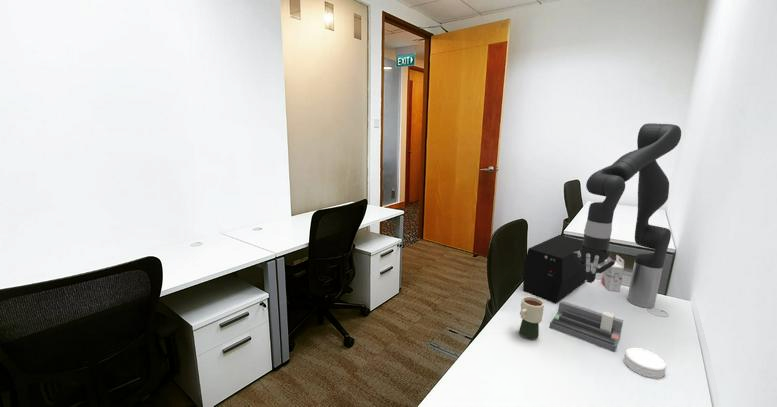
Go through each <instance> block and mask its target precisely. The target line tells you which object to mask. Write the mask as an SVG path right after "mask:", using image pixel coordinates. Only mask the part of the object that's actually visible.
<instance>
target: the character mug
mask: <svg viewBox="0 0 777 407" xmlns="http://www.w3.org/2000/svg"><path fill="white" fill-rule="evenodd" d="M544 309H545V302H544V301H543V300H542V299H541V298H539V297H537V296H531V295H530V296H528V295H526V296H522V298H521V302H520V311H519V316H520V319H521V322H520V326H519V329H518V333H519V334H520V335H521V336H522V337H524V338H527V339H531V340H536V339H538V338H539V334H540V333H539V332H540V328H539V324H540V323H541V322H543V316H544Z"/></svg>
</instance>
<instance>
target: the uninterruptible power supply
mask: <svg viewBox="0 0 777 407" xmlns="http://www.w3.org/2000/svg"><path fill="white" fill-rule="evenodd" d="M582 244H583V239H578V238H574V237H570V236H565V235H564V234H558V235H556V236H554V237H551V238H549V239H547V240H545V241H543V242H540V243H538V244H535V245H533V246H531V247H529V248H528V249H527V252H526V257H525V260H524V261H525V262H524V265H523V269H522V270H523V271H522V274H523V276H522V278H523V280H522V288H523V290H522V291H523V292H524V293H527V294H528V295H529V294H530V295H532V296H533V297H536V298H538V299H541V300H542V299H543V300H545V301H547V302H549V303H552V304H555V305H556V304H559V302H560V301H563V299H564V298H566V297H567V296H569V295H570V294H572V293H573V292H574V291H575V290H577V289H578V288H579V287H581V286H582V285H583V284H584V283H586V282H587V280H585V275H586V271H585V270H584V269H581V268H580V266H579V265H578V263H577V262H576V260H575V258H574V257H573V255H572V254H573V253H574V252H575V251H579V250H580V248H581V247H582ZM581 258H582V260H583V262H584V263H585V265H586V260H585V259H584V258H583V256H582V254H581Z"/></svg>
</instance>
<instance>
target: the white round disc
mask: <svg viewBox="0 0 777 407" xmlns="http://www.w3.org/2000/svg"><path fill="white" fill-rule="evenodd" d="M623 363H624V364H625V366H626V367H628V368H629V369H630V370H631V371H633V372H634V373H636V374H639V375H641V376H644V377H647V378H650V379H660V378H663V377H664V376H665V375H666V369H667V364H666V362H665V360H664V359H663V358H662V357H660V356H659V355H658V354H656V353H654V352H652V351H650V350H647V349H645V348H640V347H629V348H627V349H625V352H624V357H623Z"/></svg>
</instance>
